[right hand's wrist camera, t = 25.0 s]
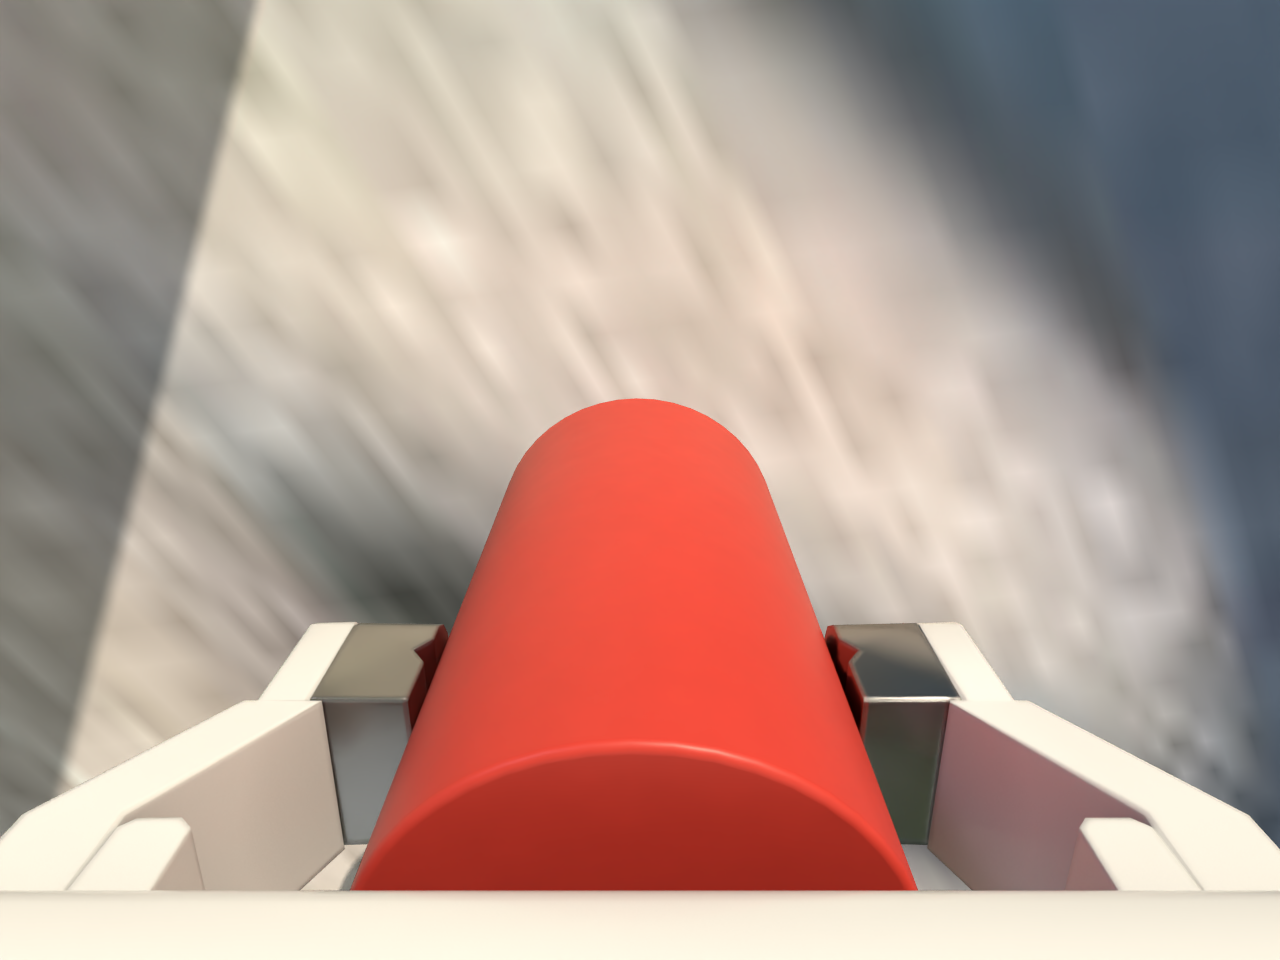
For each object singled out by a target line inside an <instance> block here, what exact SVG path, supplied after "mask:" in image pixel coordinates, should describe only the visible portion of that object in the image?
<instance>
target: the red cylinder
mask: <svg viewBox="0 0 1280 960" xmlns="http://www.w3.org/2000/svg"><path fill="white" fill-rule="evenodd" d="M350 891H918V889H917V886H916V884H915V881H914V878H913V876H912V873H911V870H910V868H909V865H908V862H907V860H906V857H905V854H904V852H903V849H902V846H901V843H900V841H899V838H898V835H897V833H896V830H895V827H894V825H893V822H892V819H891V817H890V814H889V811H888V809H887V806H886V803H885V801H884V798H883V795H882V793H881V790H880V787H879V785H878V782H877V779H876V776H875V774H874V771H873V768H872V766H871V763H870V760H869V758H868V755H867V752H866V750H865V747H864V744H863V742H862V739H861V736H860V734H859V731H858V728H857V726H856V723H855V720H854V718H853V715H852V712H851V709H850V707H849V704H848V701H847V699H846V696H845V693H844V691H843V688H842V685H841V683H840V680H839V677H838V675H837V672H836V669H835V667H834V664H833V661H832V659H831V656H830V653H829V651H828V648H827V645H826V642H825V640H824V637H823V634H822V632H821V629H820V626H819V624H818V621H817V618H816V616H815V613H814V610H813V608H812V605H811V602H810V600H809V597H808V594H807V592H806V589H805V586H804V584H803V581H802V578H801V575H800V573H799V570H798V567H797V565H796V562H795V559H794V557H793V554H792V551H791V549H790V546H789V543H788V541H787V538H786V535H785V533H784V530H783V527H782V525H781V522H780V519H779V516H778V514H777V511H776V508H775V506H774V503H773V500H772V498H771V495H770V492H769V490H768V487H767V484H766V482H765V479H764V477H763V475H762V473H761V471H760V469H759V467H758V465H757V463H756V462H755V460H754V459H753V457H752V456H751V454H750V453H749V451H748V450H747V449H746V448H745V447H744V446H743V444H742V443H741V442H740V441H739V440H738V439H737V438H736V437H735V436H734V435H733V434H732V433H730V432H729V431H728V430H727V429H726V428H724V427H723V426H722V425H720V424H719V423H717V422H716V421H714V420H713V419H711V418H709V417H708V416H706V415H704V414H702V413H699V412H697V411H695V410H693V409H691V408H688V407H685V406H681V405H678V404H675V403H671V402H666V401H660V400H654V399H622V400H614V401H609V402H605V403H600V404H597V405H594V406H591V407H588V408H585V409H582V410H580V411H578V412H576V413H574V414H572V415H570V416H568V417H566V418H564V419H563V420H561V421H560V422H558V423H557V424H555V425H554V426H552V427H551V428H549V429H548V430H547V431H546V432H545V433H544V434H543V435H542V436H540V437H539V438H538V439H537V440H536V441H535V442H534V444H533V445H532V446H531V447H530V448H529V449H528V451H527V452H526V453H525V455H524V456H523V458H522V459H521V461H520V462H519V464H518V466H517V467H516V469H515V472H514V474H513V476H512V478H511V480H510V483H509V485H508V488H507V490H506V493H505V495H504V498H503V501H502V503H501V506H500V508H499V511H498V513H497V516H496V518H495V521H494V524H493V526H492V529H491V531H490V534H489V536H488V539H487V541H486V544H485V546H484V549H483V552H482V554H481V557H480V559H479V562H478V564H477V567H476V569H475V572H474V575H473V577H472V580H471V582H470V585H469V587H468V590H467V592H466V595H465V598H464V600H463V603H462V605H461V608H460V610H459V613H458V615H457V618H456V620H455V623H454V626H453V628H452V631H451V633H450V636H449V638H448V641H447V643H446V646H445V649H444V651H443V654H442V656H441V659H440V661H439V664H438V666H437V669H436V672H435V674H434V677H433V679H432V682H431V684H430V687H429V689H428V692H427V694H426V697H425V700H424V702H423V705H422V707H421V710H420V712H419V715H418V717H417V720H416V723H415V725H414V728H413V730H412V733H411V735H410V738H409V740H408V743H407V746H406V748H405V751H404V753H403V756H402V758H401V761H400V763H399V766H398V769H397V771H396V774H395V776H394V779H393V781H392V784H391V786H390V789H389V791H388V794H387V797H386V799H385V802H384V804H383V807H382V809H381V812H380V814H379V817H378V820H377V822H376V825H375V827H374V830H373V832H372V835H371V837H370V840H369V843H368V845H367V848H366V850H365V853H364V855H363V858H362V860H361V863H360V865H359V868H358V871H357V873H356V876H355V878H354V881H353V883H352V886H351V888H350Z"/></svg>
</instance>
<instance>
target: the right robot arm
mask: <svg viewBox="0 0 1280 960" xmlns="http://www.w3.org/2000/svg"><path fill="white" fill-rule="evenodd" d="M824 640H825V642H826V645H827V648H828V651H829V653H830V656H831V659H832V661H833V664H834V667H835V669H836V672H837V675H838V677H839V680H840V683H841V685H842V688H843V691H844V693H845V696H846V699H847V701H848V704H849V707H850V709H851V712H852V715H853V718H854V720H855V723H856V726H857V728H858V731H859V734H860V736H861V739H862V742H863V744H864V747H865V750H866V752H867V755H868V758H869V760H870V763H871V766H872V768H873V771H874V774H875V776H876V779H877V782H878V785H879V787H880V790H881V793H882V795H883V798H884V801H885V803H886V806H887V809H888V811H889V814H890V817H891V819H892V822H893V825H894V827H895V830H896V833H897V835H898V838H899V841H900V843H901V844H917V845H928V847H927V849H929V850H930V851H931V852H932V853H933V854H934V855H935V856H936V857H937V858H938V859H939V860H940V861H941V862H942V863H944V864H945V865H946V866H947V867H948V868H949V869H950V870H951V871H952V872H953V873H954V874H955V875H956V876H957V877H959V878H960V879H961V880H962V881H963V882H964V883H965V884H966V885H967V886H968V887H969V888H970V889H971V890H972V891H300V890H301V889H302V888H303V887H304V886H305V885H306V884H307V883H308V882H309V881H310V880H312V879H313V878H314V877H315V876H316V875H317V874H318V873H319V872H320V871H321V870H322V869H323V868H325V867H326V866H327V865H328V864H329V863H330V862H331V861H332V860H333V859H334V858H335V857H336V856H338V855H339V854H340V853H341V852H342V851H343V850H344V845H355V844H368V843H369V840H370V837H371V835H372V832H373V830H374V827H375V825H376V822H377V820H378V817H379V814H380V812H381V809H382V807H383V804H384V802H385V799H386V797H387V794H388V791H389V789H390V786H391V784H392V781H393V779H394V776H395V774H396V771H397V769H398V766H399V763H400V761H401V758H402V756H403V753H404V751H405V748H406V746H407V743H408V740H409V738H410V735H411V733H412V730H413V728H414V725H415V723H416V720H417V717H418V715H419V712H420V710H421V707H422V705H423V702H424V700H425V697H426V694H427V692H428V689H429V687H430V684H431V682H432V679H433V677H434V674H435V672H436V669H437V666H438V664H439V661H440V659H441V656H442V654H443V651H444V649H445V646H446V643H447V641H448V633H447V631H446V629H445V627H444V625H443V624H394V623H359V624H358V623H356V622H336V623H316V624H312V625H310V626H309V627H308V629H307V630H306V632H305V633H304V634H303V636H302V637H301V639H300V640H299V642H298V643H297V644H296V646H295V647H294V649H293V650H292V652H291V653H290V654H289V656H288V657H287V659H286V660H285V662H284V663H283V664H282V666H281V667H280V669H279V670H278V672H277V673H276V674H275V676H274V677H273V679H272V680H271V682H270V683H269V684H268V686H267V687H266V689H265V690H264V692H263V693H262V694H261V696H260V697H259V699H258V700H252V701H242V702H240V703H238V704H236V705H234V706H232V707H230V708H228V709H226V710H224V711H222V712H220V713H218V714H217V715H215V716H213V717H211V718H209V719H207V720H205V721H203V722H201V723H199V724H197V725H195V726H193V727H191V728H189V729H187V730H185V731H183V732H181V733H179V734H178V735H176V736H174V737H172V738H170V739H168V740H166V741H164V742H162V743H160V744H158V745H156V746H154V747H152V748H150V749H148V750H146V751H144V752H142V753H140V754H139V755H137V756H135V757H133V758H131V759H129V760H127V761H125V762H123V763H121V764H119V765H117V766H115V767H113V768H111V769H109V770H107V771H105V772H103V773H101V774H100V775H98V776H96V777H94V778H92V779H90V780H88V781H86V782H84V783H82V784H80V785H78V786H76V787H74V788H72V789H70V790H68V791H66V792H64V793H62V794H61V795H59V796H57V797H55V798H53V799H51V800H49V801H47V802H45V803H43V804H41V805H39V806H37V807H35V808H33V809H31V810H29V811H27V812H25V813H23V814H22V815H21V816H20V817H19V818H18V819H17V820H16V822H15V823H14V824H13V825H12V826H11V827H10V828H9V829H8V830H7V831H6V832H5V833H4V834H3V835H2V837H1V838H0V960H1280V849H1279V848H1278V847H1277V846H1276V845H1275V844H1274V843H1273V841H1272V840H1271V839H1270V838H1269V837H1268V836H1267V835H1266V834H1265V833H1264V832H1263V830H1262V829H1261V828H1260V827H1259V826H1258V825H1257V824H1256V823H1255V822H1254V821H1253V819H1252V818H1251V817H1250V816H1249V815H1247V814H1245V813H1243V812H1241V811H1239V810H1238V809H1236V808H1234V807H1232V806H1230V805H1228V804H1226V803H1224V802H1222V801H1220V800H1218V799H1216V798H1214V797H1213V796H1211V795H1209V794H1207V793H1205V792H1203V791H1201V790H1199V789H1197V788H1195V787H1193V786H1191V785H1189V784H1187V783H1186V782H1184V781H1182V780H1180V779H1178V778H1176V777H1174V776H1172V775H1170V774H1168V773H1166V772H1164V771H1162V770H1161V769H1159V768H1157V767H1155V766H1153V765H1151V764H1149V763H1147V762H1145V761H1143V760H1141V759H1139V758H1137V757H1135V756H1134V755H1132V754H1130V753H1128V752H1126V751H1124V750H1122V749H1120V748H1118V747H1116V746H1114V745H1112V744H1110V743H1109V742H1107V741H1105V740H1103V739H1101V738H1099V737H1097V736H1095V735H1093V734H1091V733H1089V732H1087V731H1085V730H1084V729H1082V728H1080V727H1078V726H1076V725H1074V724H1072V723H1070V722H1068V721H1066V720H1064V719H1062V718H1060V717H1058V716H1057V715H1055V714H1053V713H1051V712H1049V711H1047V710H1045V709H1043V708H1041V707H1039V706H1037V705H1035V704H1033V703H1032V702H1030V701H1020V700H1014V699H1013V698H1012V696H1011V695H1010V694H1009V692H1008V691H1007V689H1006V688H1005V686H1004V685H1003V683H1002V682H1001V681H1000V679H999V678H998V676H997V675H996V673H995V672H994V670H993V669H992V668H991V666H990V665H989V663H988V662H987V660H986V659H985V657H984V656H983V655H982V653H981V652H980V650H979V649H978V647H977V646H976V644H975V643H974V642H973V640H972V639H971V637H970V636H969V634H968V633H967V632H966V630H965V629H964V627H963V626H962V625H961V624H958V623H956V622H939V623H899V624H858V625H831V626H828V627H827V631H826V635H825V639H824Z"/></svg>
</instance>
